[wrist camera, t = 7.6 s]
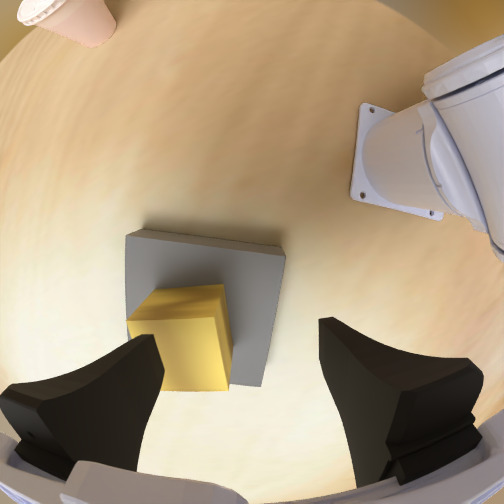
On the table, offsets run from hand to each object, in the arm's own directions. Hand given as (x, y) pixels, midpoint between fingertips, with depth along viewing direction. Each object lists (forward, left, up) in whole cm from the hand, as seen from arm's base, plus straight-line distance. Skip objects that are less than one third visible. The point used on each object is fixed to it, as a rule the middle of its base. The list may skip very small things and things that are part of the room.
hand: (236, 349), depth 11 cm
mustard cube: (+3, +3, -7) cm, 9 cm away
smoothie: (+17, -21, -11) cm, 29 cm away
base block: (+3, +3, -11) cm, 12 cm away
